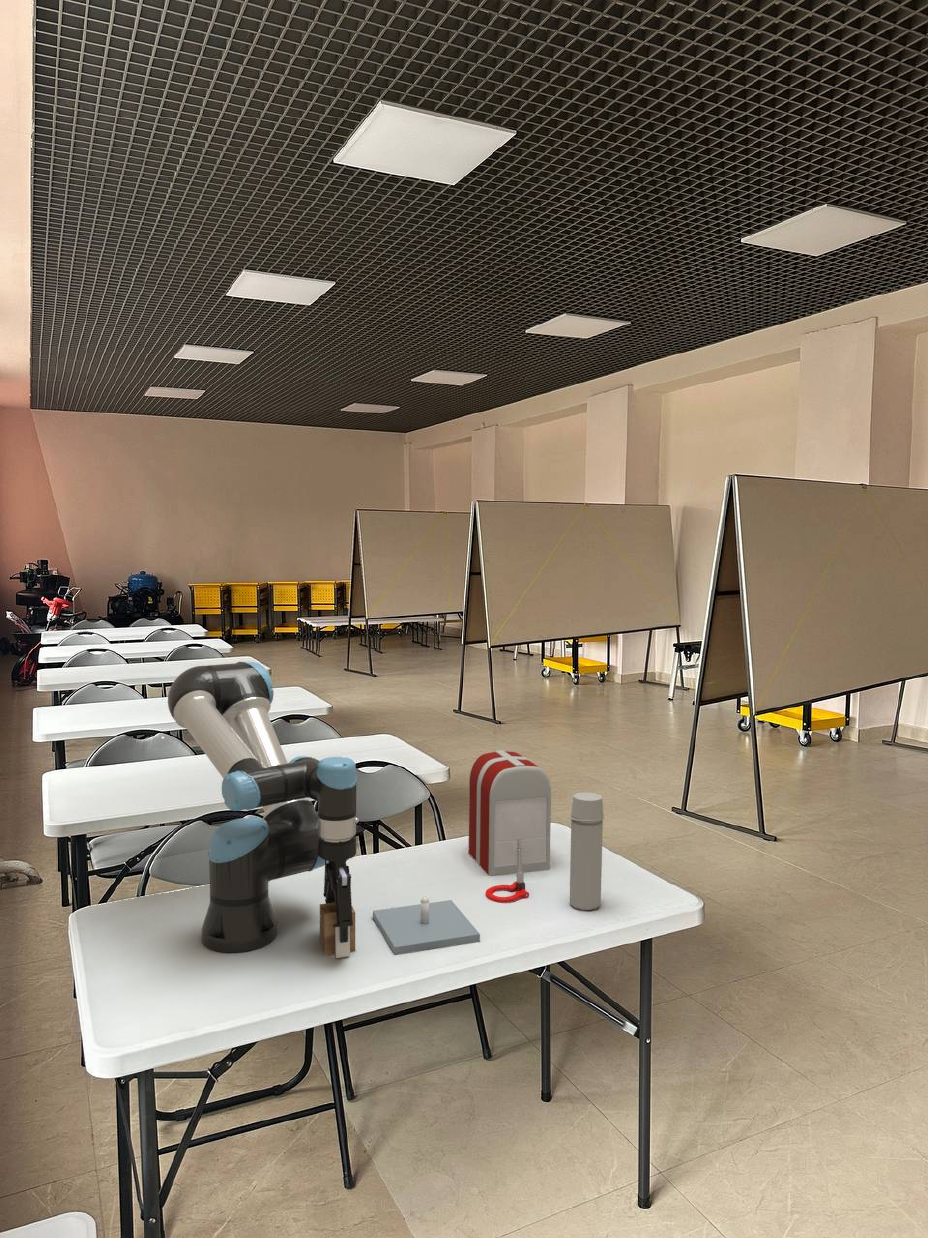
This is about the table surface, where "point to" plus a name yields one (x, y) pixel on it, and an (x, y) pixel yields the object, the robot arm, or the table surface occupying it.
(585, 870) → the water bottle
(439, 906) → the pin plate
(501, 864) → the striped mailbox
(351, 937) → the block
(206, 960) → the table surface
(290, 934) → the table surface
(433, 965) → the table surface
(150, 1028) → the table surface
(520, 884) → the tow hook
